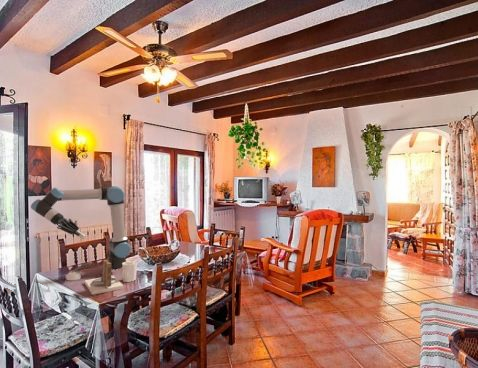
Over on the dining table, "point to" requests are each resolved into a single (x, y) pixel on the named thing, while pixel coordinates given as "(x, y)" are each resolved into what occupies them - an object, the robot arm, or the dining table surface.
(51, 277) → the dining table surface
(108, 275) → the wooden bookend
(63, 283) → the dining table surface
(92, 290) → the dial plate
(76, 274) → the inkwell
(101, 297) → the dining table surface
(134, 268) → the candle holder
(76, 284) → the dining table surface
